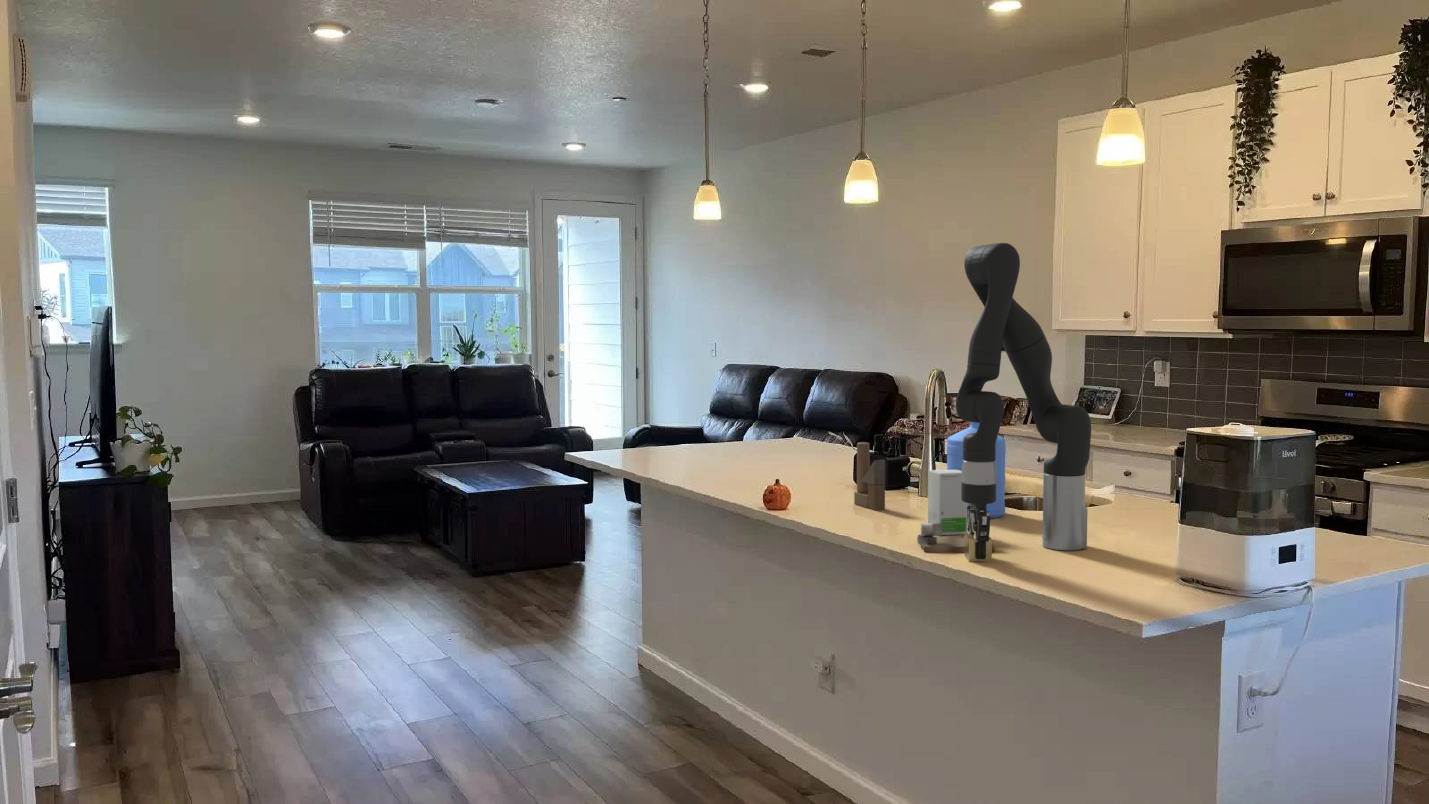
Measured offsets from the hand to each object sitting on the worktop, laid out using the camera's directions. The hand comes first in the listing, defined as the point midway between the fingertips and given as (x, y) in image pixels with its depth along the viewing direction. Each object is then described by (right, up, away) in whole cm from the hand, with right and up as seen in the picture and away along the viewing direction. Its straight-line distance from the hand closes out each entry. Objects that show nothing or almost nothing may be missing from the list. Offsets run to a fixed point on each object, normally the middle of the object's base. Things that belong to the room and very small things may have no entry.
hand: (977, 555), depth 230 cm
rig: (-2, 0, +12) cm, 12 cm away
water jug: (+12, +4, +51) cm, 53 cm away
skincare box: (0, +1, +28) cm, 28 cm away
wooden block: (-15, +4, +64) cm, 66 cm away
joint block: (0, -1, 0) cm, 1 cm away
